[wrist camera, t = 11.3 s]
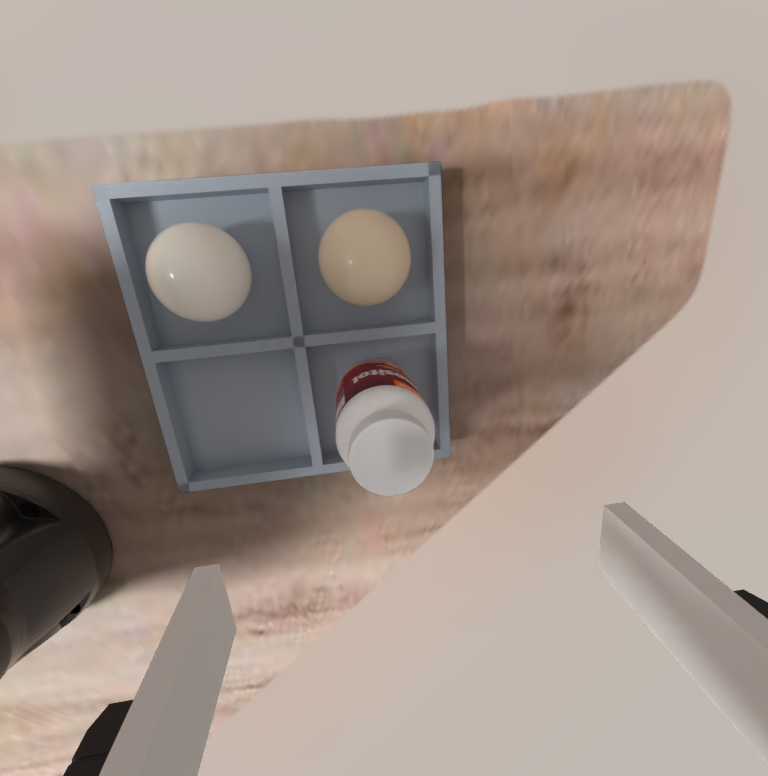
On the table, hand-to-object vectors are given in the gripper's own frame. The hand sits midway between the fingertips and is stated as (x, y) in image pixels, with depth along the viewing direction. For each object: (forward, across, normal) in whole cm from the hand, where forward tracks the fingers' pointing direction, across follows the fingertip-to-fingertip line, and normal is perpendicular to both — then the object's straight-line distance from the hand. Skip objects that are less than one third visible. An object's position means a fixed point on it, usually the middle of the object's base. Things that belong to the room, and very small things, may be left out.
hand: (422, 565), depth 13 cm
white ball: (+19, -10, +10) cm, 24 cm away
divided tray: (+20, -5, +5) cm, 21 cm away
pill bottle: (+19, 0, 0) cm, 19 cm away
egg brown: (+19, 0, +10) cm, 22 cm away
